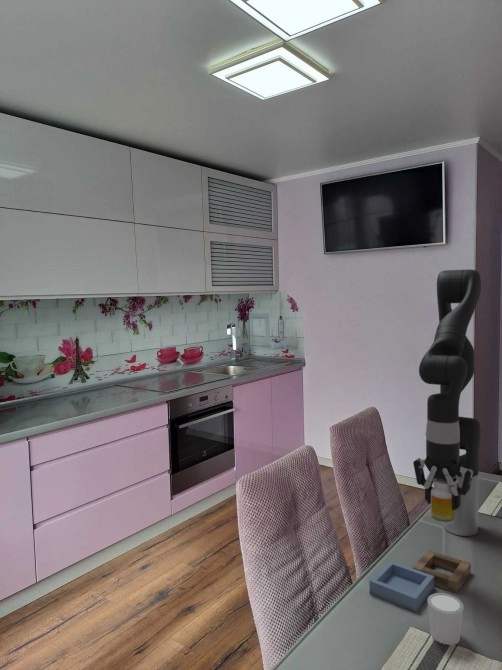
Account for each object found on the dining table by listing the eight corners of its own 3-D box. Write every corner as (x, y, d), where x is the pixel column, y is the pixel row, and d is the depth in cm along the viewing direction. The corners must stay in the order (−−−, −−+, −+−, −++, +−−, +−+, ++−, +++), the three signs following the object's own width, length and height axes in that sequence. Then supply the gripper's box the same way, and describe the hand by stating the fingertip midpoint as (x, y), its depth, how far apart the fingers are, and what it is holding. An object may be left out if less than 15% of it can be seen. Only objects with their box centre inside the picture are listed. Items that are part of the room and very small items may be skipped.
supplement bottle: (456, 525, 118) (456, 485, 117) (432, 523, 119) (432, 484, 118) (452, 515, 123) (452, 477, 122) (429, 513, 124) (429, 476, 123)
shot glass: (460, 651, 96) (460, 617, 96) (423, 639, 100) (423, 606, 99) (465, 631, 102) (466, 598, 101) (431, 620, 106) (431, 588, 105)
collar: (428, 559, 129) (428, 549, 129) (470, 572, 123) (470, 563, 122) (412, 577, 121) (412, 567, 121) (456, 593, 115) (456, 582, 114)
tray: (390, 572, 124) (390, 560, 124) (434, 588, 117) (434, 576, 116) (369, 593, 115) (369, 580, 115) (415, 611, 108) (415, 598, 108)
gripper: (479, 439, 117) (478, 508, 119) (419, 429, 126) (419, 493, 128) (469, 447, 111) (468, 519, 113) (407, 436, 121) (407, 503, 122)
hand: (442, 505), depth 121 cm, fingers closed on supplement bottle, 5 cm apart
